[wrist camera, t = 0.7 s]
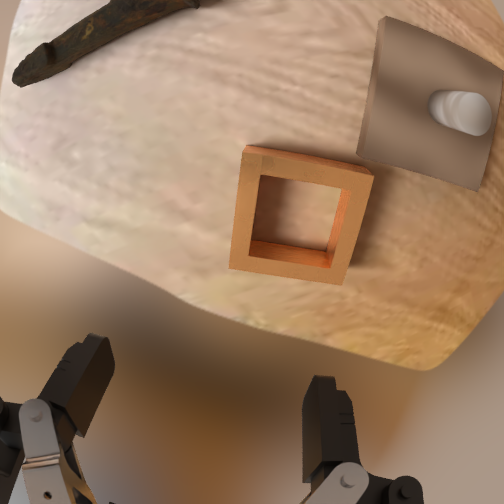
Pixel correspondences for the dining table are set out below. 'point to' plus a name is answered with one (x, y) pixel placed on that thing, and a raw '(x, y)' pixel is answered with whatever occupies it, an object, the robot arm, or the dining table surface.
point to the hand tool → (92, 36)
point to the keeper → (429, 105)
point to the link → (289, 257)
